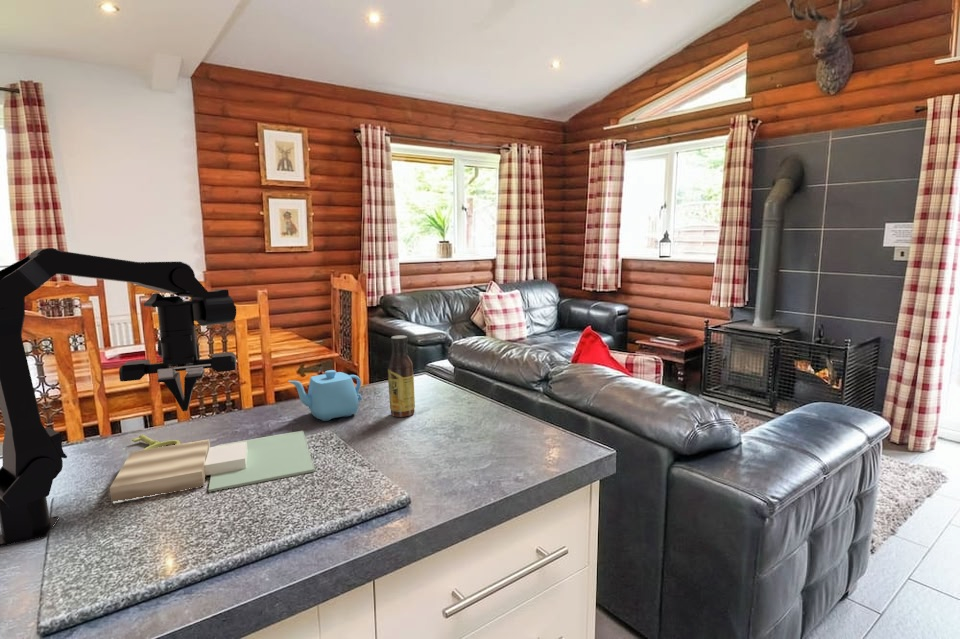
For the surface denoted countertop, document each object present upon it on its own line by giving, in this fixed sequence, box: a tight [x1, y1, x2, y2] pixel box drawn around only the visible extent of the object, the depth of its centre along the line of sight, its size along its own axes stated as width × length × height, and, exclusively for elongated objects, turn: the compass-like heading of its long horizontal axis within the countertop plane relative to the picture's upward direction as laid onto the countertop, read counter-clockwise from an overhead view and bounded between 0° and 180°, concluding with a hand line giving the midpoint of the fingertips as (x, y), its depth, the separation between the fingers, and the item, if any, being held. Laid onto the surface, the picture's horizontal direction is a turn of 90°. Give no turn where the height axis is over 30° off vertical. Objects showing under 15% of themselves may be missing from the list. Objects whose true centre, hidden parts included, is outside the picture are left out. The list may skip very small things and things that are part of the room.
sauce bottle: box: [387, 334, 416, 418], centre depth 131 cm, size 6×6×20 cm
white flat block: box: [204, 441, 248, 476], centre depth 105 cm, size 10×7×2 cm
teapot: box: [287, 369, 363, 422], centre depth 133 cm, size 12×18×12 cm
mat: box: [208, 430, 315, 493], centre depth 108 cm, size 24×18×1 cm
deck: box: [109, 438, 211, 503], centre depth 101 cm, size 18×14×3 cm
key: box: [131, 434, 181, 450], centre depth 116 cm, size 7×12×2 cm, turn 74°
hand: (185, 410), depth 101 cm, fingers closed
